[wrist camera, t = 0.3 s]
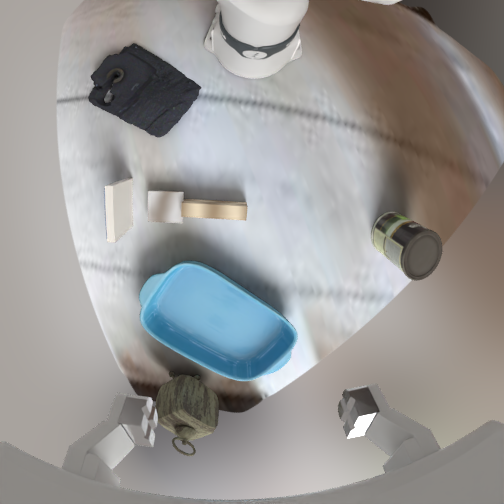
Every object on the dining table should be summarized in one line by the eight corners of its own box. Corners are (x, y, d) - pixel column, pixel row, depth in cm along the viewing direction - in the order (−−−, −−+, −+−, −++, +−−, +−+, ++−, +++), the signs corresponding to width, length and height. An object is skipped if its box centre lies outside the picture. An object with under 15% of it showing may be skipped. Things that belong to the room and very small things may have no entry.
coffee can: (381, 204, 55) (417, 223, 42) (412, 219, 56) (449, 239, 43) (363, 246, 58) (394, 274, 45) (395, 258, 60) (428, 285, 47)
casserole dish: (131, 304, 60) (121, 321, 53) (177, 231, 54) (170, 243, 48) (252, 372, 70) (254, 391, 64) (309, 319, 65) (316, 337, 58)
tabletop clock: (163, 370, 68) (146, 444, 45) (185, 357, 66) (172, 436, 43) (199, 396, 73) (194, 467, 50) (221, 385, 71) (221, 459, 48)
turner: (247, 193, 52) (248, 197, 49) (244, 223, 54) (245, 229, 51) (151, 189, 50) (145, 192, 47) (151, 218, 53) (145, 223, 49)
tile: (125, 225, 53) (106, 242, 43) (124, 178, 49) (103, 185, 40) (133, 226, 53) (115, 242, 44) (133, 178, 49) (112, 185, 40)
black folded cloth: (158, 150, 48) (151, 151, 44) (85, 97, 42) (74, 95, 37) (208, 89, 44) (206, 83, 40) (129, 39, 38) (121, 32, 34)
